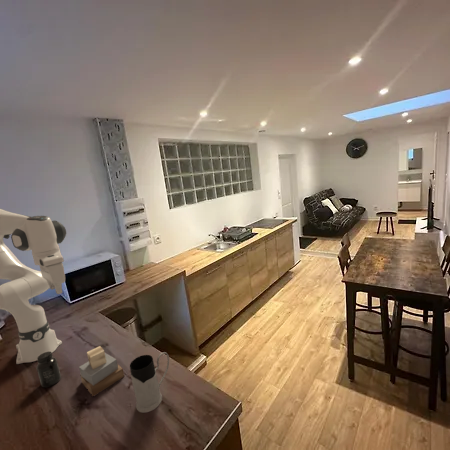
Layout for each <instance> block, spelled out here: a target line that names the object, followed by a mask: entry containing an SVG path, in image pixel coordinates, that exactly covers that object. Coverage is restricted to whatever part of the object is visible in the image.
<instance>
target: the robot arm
mask: <svg viewBox="0 0 450 450" xmlns="http://www.w3.org/2000/svg"><path fill="white" fill-rule="evenodd" d="M66 237H67V230H66V227H65V226H64V224H62V223H61V222H59V221H57V220H52V219H51V218H50V216H47V215H34V216H29V215H23V214H19V213H15V212H11V211H8V210H5V209H2V208H0V280H9V281H7V282H5V283H2V284H1V285H0V310H2V311H6V312H7V313H10V314H11V315H12V316H13V318H14V321H15V322H16V325H17V329H18V338H19V343H17V344H16V345H15V347H16V350H17V356H16V365H19V364H23V363H24V364H25V363H32V362H36V361H38V359H37V358H38V356H39V355H41V354H43V353H45V352H51V353H52V354H53V353H54V352H55V351H56V350H57V349H58V348H59V346H61V345H62V344H63V342H62V340H60V339H58V338H57V335H56V332H55V329H51V327H50V323H49V321H48V320H47V316H46V312H45V309H44V307H43V306H41V305H39V304H31V303H30V301H29V300H30V299H32V298H35V297H37V296H39V295H41V294H44V293H45V292H46V291H48V290H49V289H50V290H55V294H56V295H61V294H63V288H62V287H63V284H64V283H66V274H65V269H64V263H63V262H64V261H65V260H64V257H63V254H62V253H61V250H60V246H59V244H62V243H63V241H64V240H65V238H66ZM9 238H11V242H12V245H13V247H14V248H15V249H17V250H19V251H22V252H24V251H25V252H26V251H27V252H28V251H31V255H32V259H33V262H34V266H39V269H40V270H36V269H33V268H31V267H29V266H27V265H25V264H24V263H23V262H21V261H20V260H19V258H17V256H16V255H15V254H14V253H13V251H12V250H11V249H10V248H9V247H8V246H7V245H6V244H5V242H4V239H5V240H7V239H9Z"/></svg>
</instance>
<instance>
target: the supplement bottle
mask: <svg viewBox="0 0 450 450" xmlns="http://www.w3.org/2000/svg"><path fill="white" fill-rule="evenodd" d="M37 359H38V360H37V365H36V372H37V375H38V378H39V382H40V385H41V387H42V388H50V387H52V386H53V385H55V384H57V383H58V382H60V380H61V378H62V375H61V371H60V367H59V363H58V360H57V358H56V357H54V356H53V352H52V353H51V352H45V353H43V354H41V355H39V356H38V358H37Z"/></svg>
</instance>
